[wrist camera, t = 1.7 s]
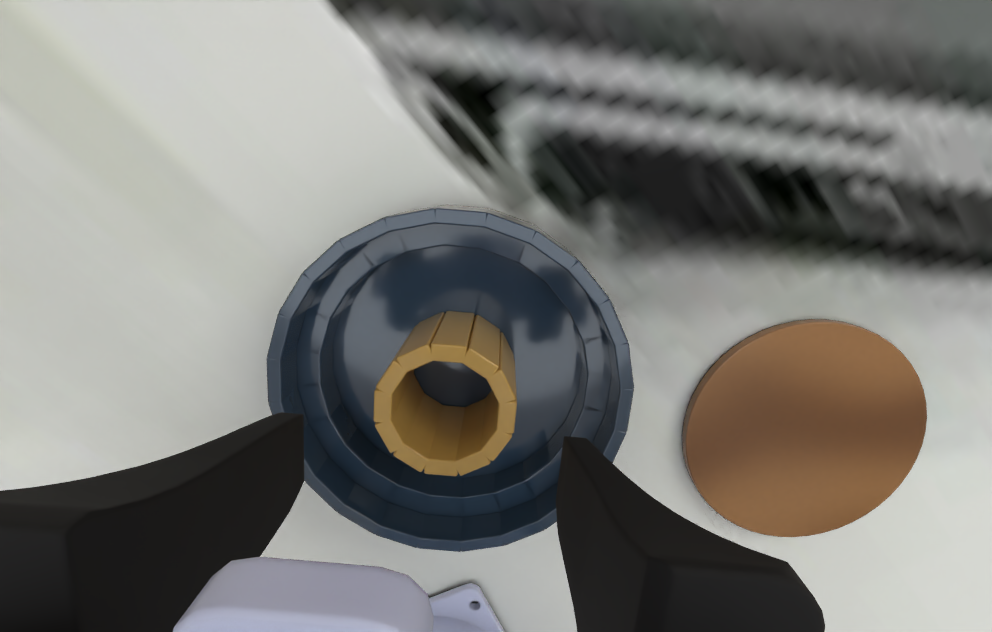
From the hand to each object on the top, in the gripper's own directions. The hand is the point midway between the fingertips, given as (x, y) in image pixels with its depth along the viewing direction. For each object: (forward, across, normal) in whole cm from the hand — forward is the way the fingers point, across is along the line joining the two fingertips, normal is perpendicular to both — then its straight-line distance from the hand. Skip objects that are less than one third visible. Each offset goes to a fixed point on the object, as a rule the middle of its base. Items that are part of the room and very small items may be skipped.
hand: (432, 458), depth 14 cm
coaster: (+8, -15, +2) cm, 17 cm away
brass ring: (+7, 0, 0) cm, 7 cm away
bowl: (+8, 0, 0) cm, 8 cm away
